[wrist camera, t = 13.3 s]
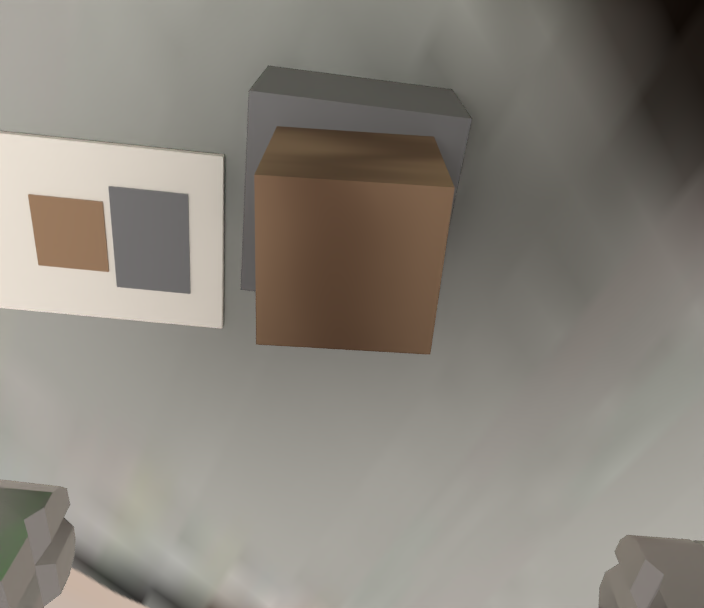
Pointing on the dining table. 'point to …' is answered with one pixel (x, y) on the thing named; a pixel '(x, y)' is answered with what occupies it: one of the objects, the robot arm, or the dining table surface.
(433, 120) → the charcoal base block
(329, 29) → the dining table surface
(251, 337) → the dining table surface
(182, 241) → the card
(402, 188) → the walnut cube
